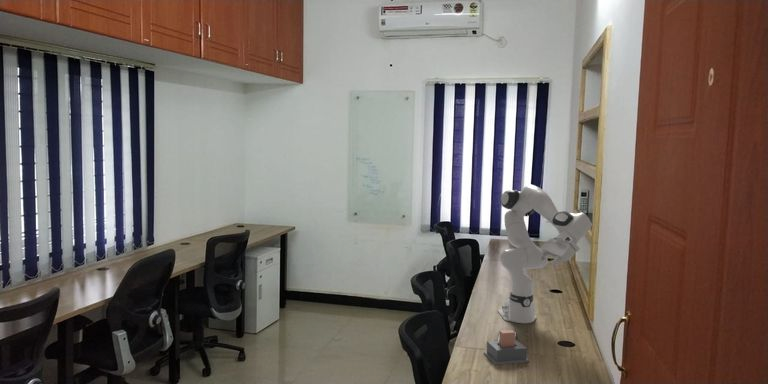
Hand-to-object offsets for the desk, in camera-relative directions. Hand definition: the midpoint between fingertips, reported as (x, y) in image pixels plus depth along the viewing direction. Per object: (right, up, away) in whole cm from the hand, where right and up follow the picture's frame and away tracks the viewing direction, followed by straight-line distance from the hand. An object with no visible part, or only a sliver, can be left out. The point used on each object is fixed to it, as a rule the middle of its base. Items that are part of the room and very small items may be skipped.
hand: (546, 261), depth 252 cm
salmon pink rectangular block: (-22, -40, -15) cm, 48 cm away
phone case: (-17, -39, +8) cm, 43 cm away
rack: (-22, -41, -15) cm, 49 cm away
